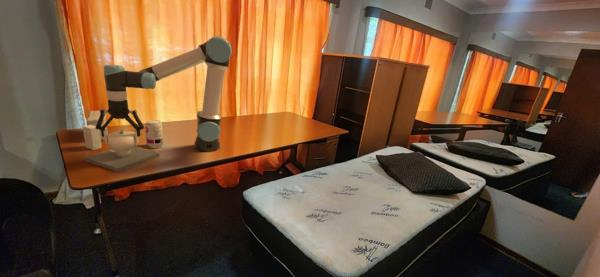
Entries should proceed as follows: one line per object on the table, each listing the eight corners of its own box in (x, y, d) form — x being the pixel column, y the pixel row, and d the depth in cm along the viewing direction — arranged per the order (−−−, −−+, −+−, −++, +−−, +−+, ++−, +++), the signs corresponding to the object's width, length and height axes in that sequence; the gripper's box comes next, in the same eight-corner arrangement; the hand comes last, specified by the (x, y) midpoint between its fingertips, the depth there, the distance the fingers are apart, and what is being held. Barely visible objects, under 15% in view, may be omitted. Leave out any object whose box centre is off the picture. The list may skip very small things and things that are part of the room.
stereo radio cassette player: (92, 130, 149) (87, 99, 143) (109, 130, 154) (105, 99, 147) (89, 142, 133) (83, 107, 127) (107, 141, 138) (103, 107, 132)
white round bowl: (136, 148, 118) (135, 135, 115) (107, 150, 112) (106, 136, 109) (136, 141, 126) (134, 128, 124) (109, 142, 120) (108, 129, 118)
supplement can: (146, 149, 135) (144, 123, 130) (147, 143, 141) (145, 119, 137) (162, 148, 138) (161, 123, 134) (163, 143, 145) (161, 119, 140)
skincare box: (102, 147, 129) (99, 126, 125) (93, 150, 125) (90, 128, 121) (94, 145, 131) (91, 124, 127) (85, 147, 127) (81, 126, 123)
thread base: (159, 156, 128) (158, 144, 126) (118, 172, 108) (117, 159, 106) (128, 147, 134) (127, 136, 132) (84, 160, 114) (82, 147, 112)
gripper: (148, 99, 119) (151, 139, 126) (88, 96, 110) (95, 140, 117) (146, 102, 113) (149, 144, 120) (81, 99, 103) (89, 145, 110)
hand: (122, 142), depth 118 cm, fingers open, 12 cm apart
